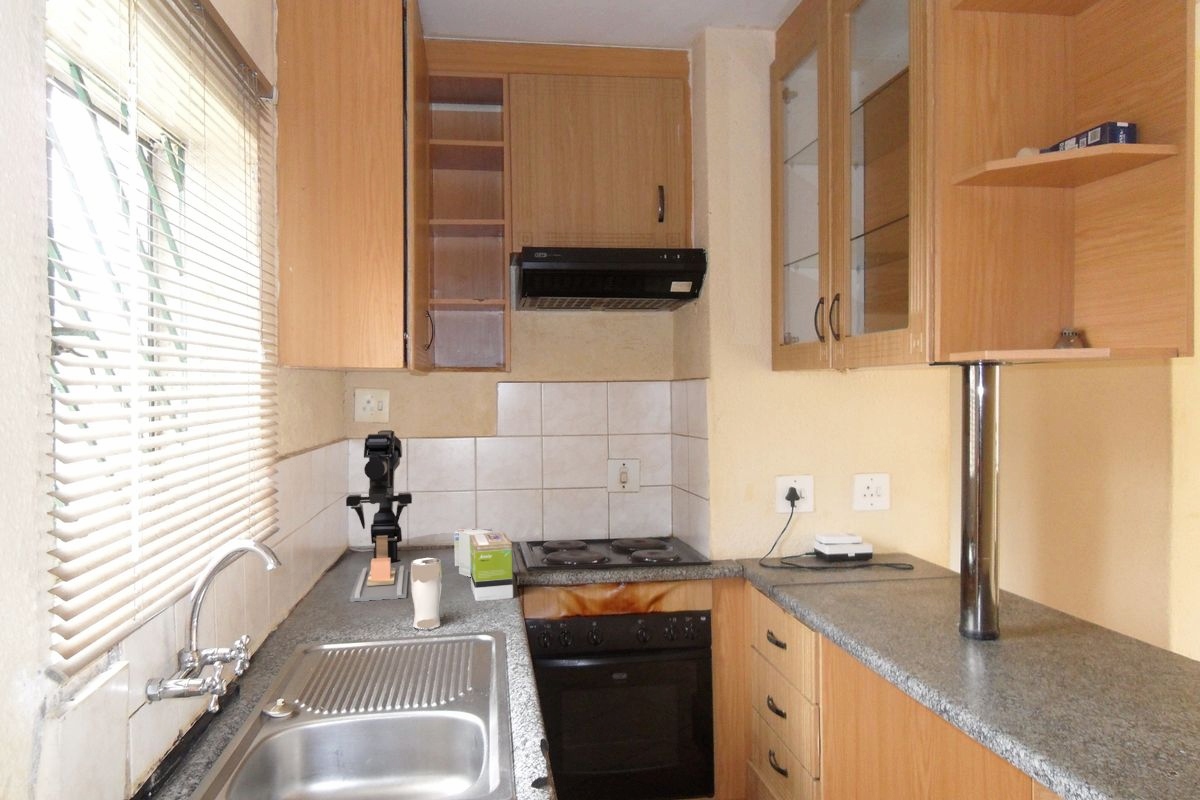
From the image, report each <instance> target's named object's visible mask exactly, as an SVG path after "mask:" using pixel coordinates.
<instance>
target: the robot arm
mask: <svg viewBox="0 0 1200 800" xmlns="http://www.w3.org/2000/svg"><path fill="white" fill-rule="evenodd" d="M395 434H396V433H395V431H394V430H389V429H388V430H378V432H377V433H369V434H368V435H367V437H365V439H364V449H363V458H364V459H367V458H368V461H367V463H365V465H364V474H365V475H366V477H367V478H368V479H369V482H368V483H369V489H368V496H362V494H359V493H358V494H357V493H356V494H355V493H354V494H349V495H347V496H346V498H345V501H346V502H345V504H346V505H345V506H346V507H350V509H352V510H355V512H356V513H357V516H358V518H359V521H360V524H361V527H362V529H363V530H365V529H366V527H365V526H366V521H365V514H364V507H363V503H364V504H368V503H370V504H371V505H375V504H379V508H378V509H379V510H378V511H377V512H374V514H373V520H372V523H371V525H370V537H371V538H370V539H371V540H370V541H371V544H374V547H373V559H374V558H377V551H376V537H377V536H388V558H391V563H395V562H400V561H401V558H398V543H400V542H402V541H403V539H402V538H403V535H402V527H401V526H400V523H399V520H400V518H401V515H402V511H403V510H404V508H405V507H408V505H409V504H412V503H413V496H412V495H413V494H412V493H411V492H408V491H407V492H406V491H405V492H398V495H395V494H394V493H395V491H394V490H395V472H396V470H397V468H398V467H399V466H400V463H401V459H402V457H403V446H402V441H401V439H399V438H398V437H397V435H395ZM395 502H397V505H396V512H394V503H395ZM395 513H396V514H395Z"/></svg>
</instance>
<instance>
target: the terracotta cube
mask: <svg viewBox="0 0 1200 800" xmlns="http://www.w3.org/2000/svg"><path fill="white" fill-rule="evenodd" d="M391 566H392V562H391V558H374V557H373V558H371V560H370V570H371V581H375V580H390V578H391V568H392V567H391Z"/></svg>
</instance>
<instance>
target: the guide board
mask: <svg viewBox="0 0 1200 800" xmlns="http://www.w3.org/2000/svg"><path fill="white" fill-rule="evenodd" d="M369 573H370V571H368V567H363V568H362V571H359V572H358V574H357V577H356V580H355V582H354V585H353V587H352V590H351V594H350V597H349V603H355V602H354V601H361V602H370V601H369V600H376V601H383V600H382V599H390V600H399V599H398V598H405V599H407V598H408V597H407V596H408V595H407V594H408V581H409V569H406V568H405V565H399V569H396V573H395V580H394V584H390V585H374V586H367V580H368V577H369ZM406 597H407V598H406Z"/></svg>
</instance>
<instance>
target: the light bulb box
mask: <svg viewBox="0 0 1200 800" xmlns="http://www.w3.org/2000/svg"><path fill="white" fill-rule="evenodd" d="M476 529H477V528H458V529H456V530H455V531H454V532H453V541H454V542H453V543H454V544H453V549H454V551H453V554H454V567H459V532H461V531H468V530H476ZM481 529H482V530H487V531H492V532H493V528H481Z"/></svg>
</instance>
